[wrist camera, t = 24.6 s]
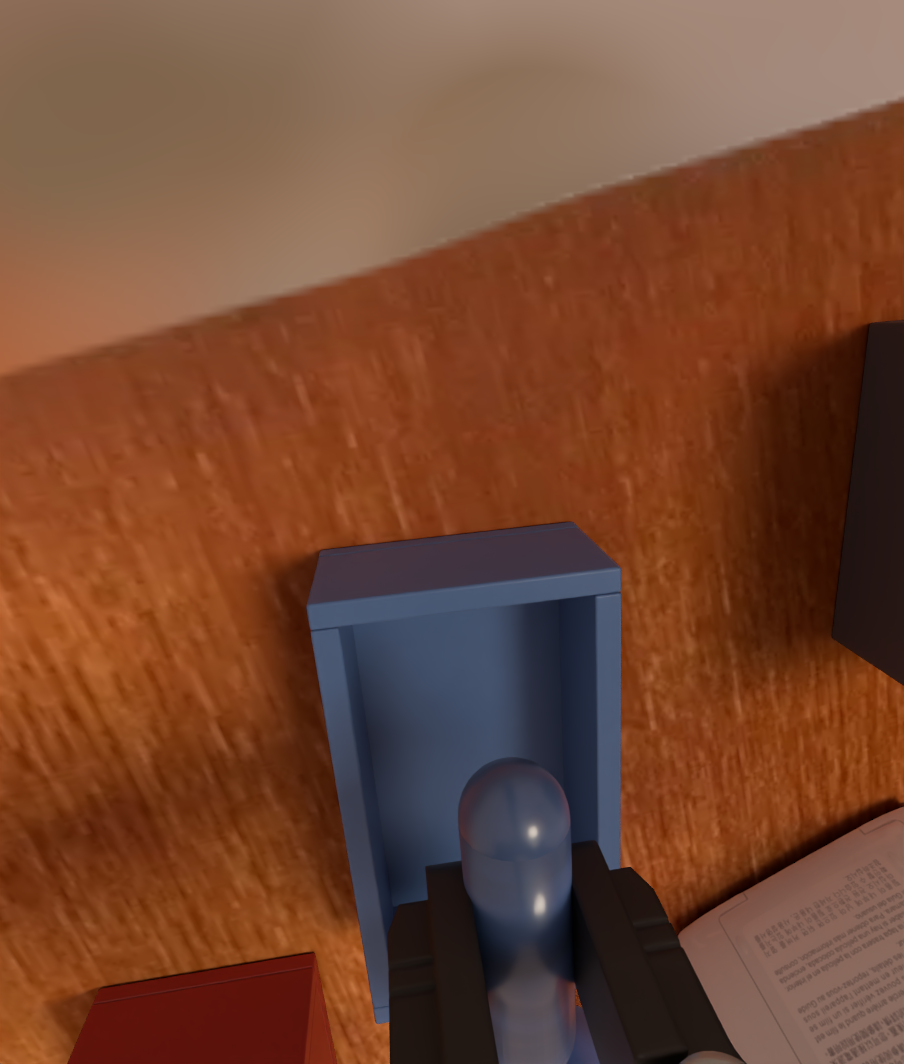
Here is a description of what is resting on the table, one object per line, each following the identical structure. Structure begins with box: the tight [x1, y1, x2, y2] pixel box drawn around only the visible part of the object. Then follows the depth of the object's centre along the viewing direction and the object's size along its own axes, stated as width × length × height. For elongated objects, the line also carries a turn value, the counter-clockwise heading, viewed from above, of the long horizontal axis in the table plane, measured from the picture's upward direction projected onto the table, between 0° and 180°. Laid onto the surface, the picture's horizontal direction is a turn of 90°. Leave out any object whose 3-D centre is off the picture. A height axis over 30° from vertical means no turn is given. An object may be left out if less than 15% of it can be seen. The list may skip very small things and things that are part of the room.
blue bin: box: [306, 522, 621, 1024], centre depth 17 cm, size 12×7×4 cm, turn 5°
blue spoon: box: [458, 757, 600, 1064], centre depth 11 cm, size 10×3×2 cm, turn 5°
